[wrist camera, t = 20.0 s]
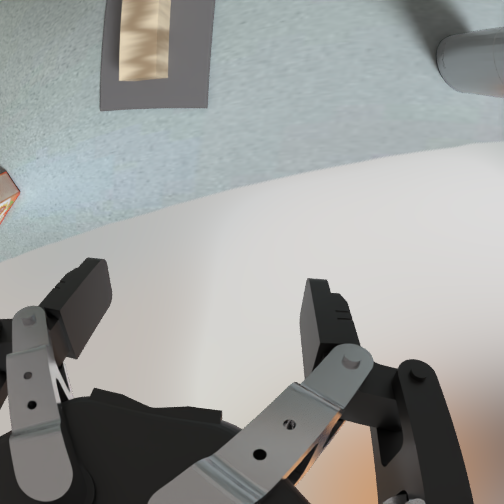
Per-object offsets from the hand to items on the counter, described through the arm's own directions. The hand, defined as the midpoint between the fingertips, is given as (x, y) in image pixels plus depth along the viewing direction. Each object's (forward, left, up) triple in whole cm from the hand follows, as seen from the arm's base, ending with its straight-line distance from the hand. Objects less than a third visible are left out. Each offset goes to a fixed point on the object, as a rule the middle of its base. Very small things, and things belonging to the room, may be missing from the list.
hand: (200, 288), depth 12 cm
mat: (+14, -18, -34) cm, 41 cm away
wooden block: (+14, -9, -31) cm, 35 cm away
